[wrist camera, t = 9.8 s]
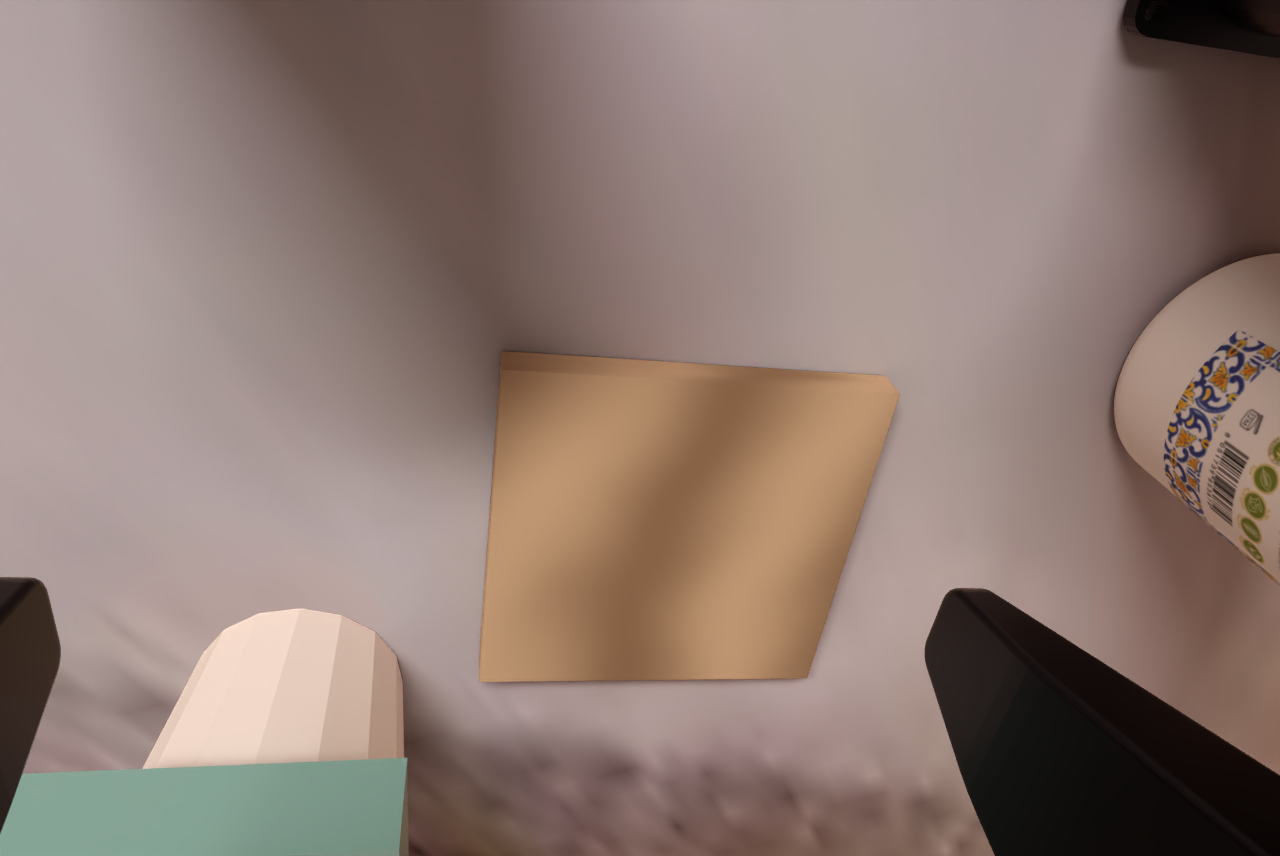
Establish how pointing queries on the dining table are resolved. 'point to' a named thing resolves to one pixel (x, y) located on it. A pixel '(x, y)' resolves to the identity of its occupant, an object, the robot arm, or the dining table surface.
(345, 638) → the cream round container
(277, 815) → the lid
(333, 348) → the dining table surface
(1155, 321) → the bath foam
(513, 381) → the mat
